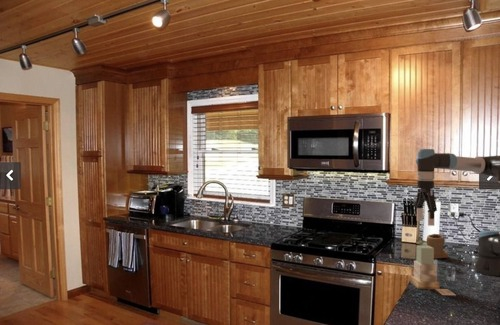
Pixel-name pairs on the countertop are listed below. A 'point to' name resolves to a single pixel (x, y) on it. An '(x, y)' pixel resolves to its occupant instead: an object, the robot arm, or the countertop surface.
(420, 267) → the birch brick
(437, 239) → the brown rounded piece
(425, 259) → the sage brick
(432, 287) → the base
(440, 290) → the page
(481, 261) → the robot arm
